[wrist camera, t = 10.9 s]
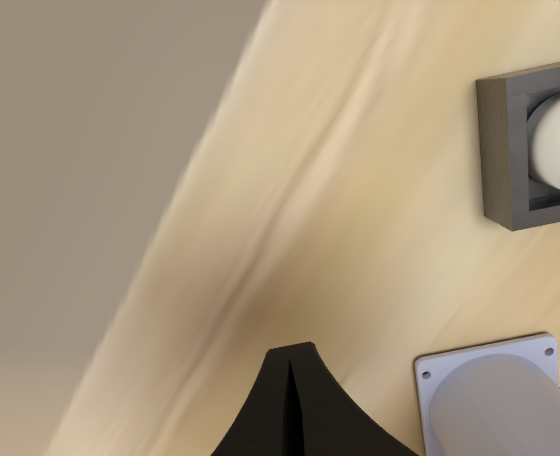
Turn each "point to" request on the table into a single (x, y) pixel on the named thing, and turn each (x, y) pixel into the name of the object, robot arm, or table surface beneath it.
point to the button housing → (514, 147)
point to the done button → (545, 142)
